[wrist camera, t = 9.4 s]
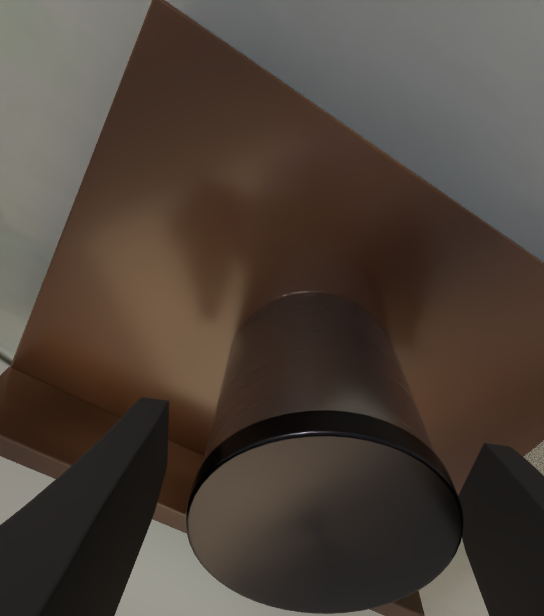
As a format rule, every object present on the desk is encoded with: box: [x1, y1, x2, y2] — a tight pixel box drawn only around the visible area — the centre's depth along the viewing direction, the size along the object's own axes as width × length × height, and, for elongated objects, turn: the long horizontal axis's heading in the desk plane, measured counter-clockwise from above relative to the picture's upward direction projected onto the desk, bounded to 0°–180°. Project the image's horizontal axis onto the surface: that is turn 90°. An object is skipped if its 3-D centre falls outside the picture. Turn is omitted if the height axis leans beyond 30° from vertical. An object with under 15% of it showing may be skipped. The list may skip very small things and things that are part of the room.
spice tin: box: [186, 293, 463, 614], centre depth 11 cm, size 5×5×6 cm
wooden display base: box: [0, 0, 544, 616], centre depth 13 cm, size 16×12×5 cm
